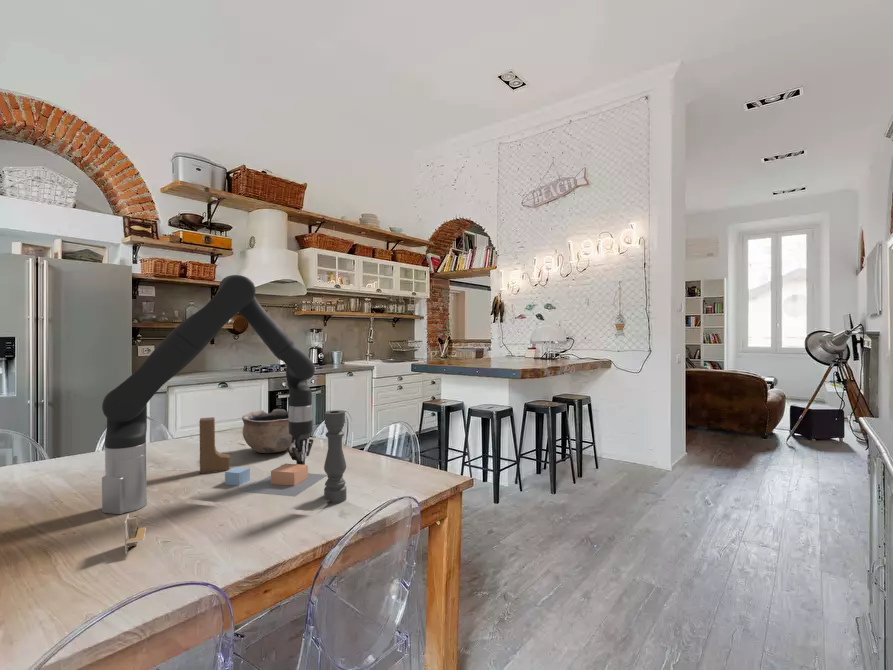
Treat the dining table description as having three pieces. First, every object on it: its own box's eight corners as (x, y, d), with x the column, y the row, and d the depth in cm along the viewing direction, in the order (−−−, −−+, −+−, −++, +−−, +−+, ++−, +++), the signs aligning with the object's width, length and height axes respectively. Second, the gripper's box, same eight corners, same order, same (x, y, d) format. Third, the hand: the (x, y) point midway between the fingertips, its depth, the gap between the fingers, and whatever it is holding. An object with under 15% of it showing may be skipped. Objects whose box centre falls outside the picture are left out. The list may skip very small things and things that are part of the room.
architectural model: (146, 542, 108) (145, 510, 107) (143, 555, 102) (142, 521, 101) (128, 546, 106) (127, 513, 106) (124, 559, 100) (123, 525, 100)
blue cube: (239, 489, 142) (239, 473, 142) (225, 488, 143) (224, 471, 143) (249, 484, 147) (249, 468, 147) (236, 482, 148) (235, 467, 148)
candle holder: (324, 504, 129) (323, 414, 129) (324, 496, 135) (323, 410, 135) (347, 502, 131) (346, 413, 130) (345, 494, 137) (345, 409, 136)
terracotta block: (294, 485, 141) (294, 472, 141) (270, 483, 143) (270, 470, 143) (308, 477, 149) (307, 465, 149) (285, 475, 151) (285, 463, 151)
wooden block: (229, 466, 164) (228, 415, 164) (229, 470, 160) (229, 418, 160) (200, 470, 161) (200, 418, 160) (200, 473, 157) (199, 420, 156)
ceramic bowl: (302, 443, 198) (302, 407, 198) (300, 456, 177) (300, 417, 177) (246, 446, 192) (246, 410, 192) (237, 461, 171) (237, 420, 171)
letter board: (294, 500, 132) (294, 496, 132) (239, 495, 137) (239, 491, 137) (328, 477, 152) (328, 474, 152) (279, 474, 156) (279, 470, 156)
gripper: (300, 423, 145) (300, 478, 146) (320, 415, 158) (320, 466, 159) (278, 422, 147) (278, 477, 147) (300, 414, 160) (300, 465, 160)
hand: (300, 471), depth 153 cm, fingers closed
